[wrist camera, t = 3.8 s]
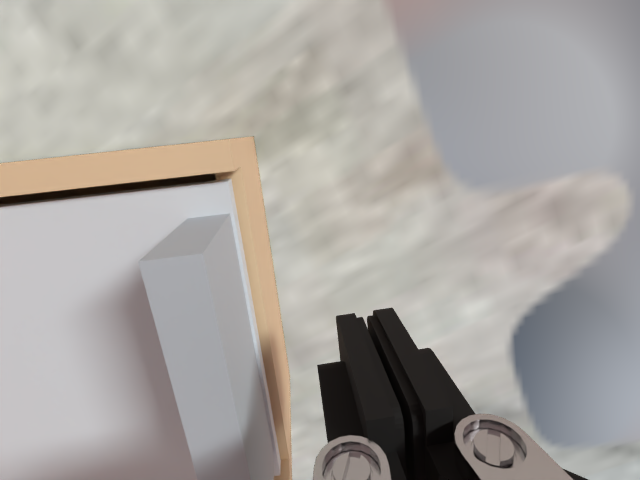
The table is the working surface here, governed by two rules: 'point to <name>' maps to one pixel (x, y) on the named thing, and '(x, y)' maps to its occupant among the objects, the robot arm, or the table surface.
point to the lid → (131, 340)
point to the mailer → (174, 169)
